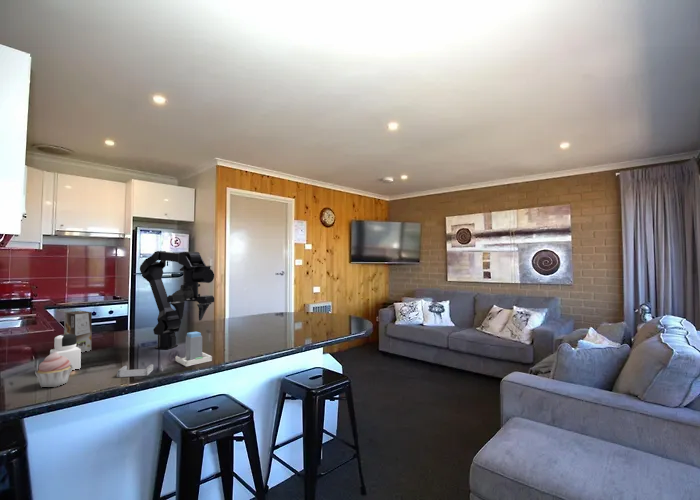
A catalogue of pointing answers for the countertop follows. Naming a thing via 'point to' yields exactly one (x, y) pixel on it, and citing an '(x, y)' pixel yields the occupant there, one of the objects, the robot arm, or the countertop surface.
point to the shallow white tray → (134, 371)
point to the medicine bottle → (68, 349)
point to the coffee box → (79, 328)
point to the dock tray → (202, 359)
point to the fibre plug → (193, 346)
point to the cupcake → (54, 370)
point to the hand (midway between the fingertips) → (190, 319)
